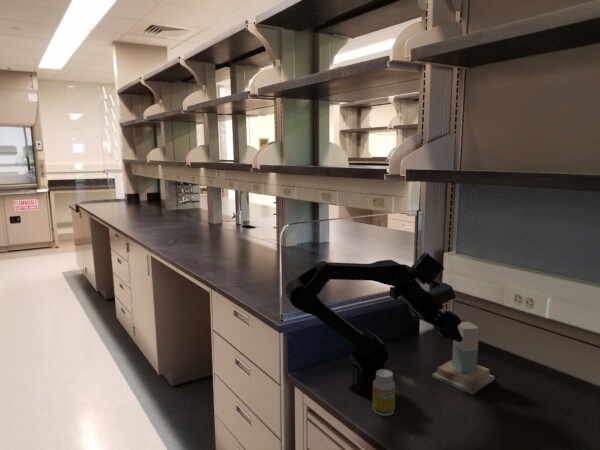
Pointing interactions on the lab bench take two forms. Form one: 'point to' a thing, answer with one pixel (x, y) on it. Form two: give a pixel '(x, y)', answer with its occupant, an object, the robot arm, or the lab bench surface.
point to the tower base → (472, 391)
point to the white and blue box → (466, 348)
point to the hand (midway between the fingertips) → (451, 333)
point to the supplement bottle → (383, 393)
